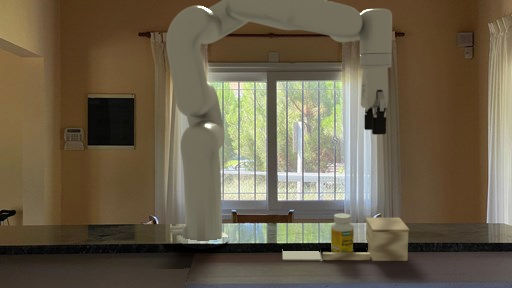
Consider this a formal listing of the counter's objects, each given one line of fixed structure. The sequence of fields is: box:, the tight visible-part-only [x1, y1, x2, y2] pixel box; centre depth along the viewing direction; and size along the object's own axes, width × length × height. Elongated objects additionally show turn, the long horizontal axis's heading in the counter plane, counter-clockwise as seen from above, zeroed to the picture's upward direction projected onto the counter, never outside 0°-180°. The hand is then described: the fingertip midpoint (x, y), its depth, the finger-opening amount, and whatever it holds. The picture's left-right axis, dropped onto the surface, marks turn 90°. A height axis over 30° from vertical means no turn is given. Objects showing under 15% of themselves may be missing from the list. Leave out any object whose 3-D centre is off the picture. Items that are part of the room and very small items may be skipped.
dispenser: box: [318, 217, 410, 262], centre depth 117 cm, size 21×10×8 cm, turn 87°
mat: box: [282, 250, 321, 261], centre depth 118 cm, size 9×9×1 cm
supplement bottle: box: [330, 212, 355, 252], centre depth 117 cm, size 5×5×10 cm
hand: (374, 131), depth 120 cm, fingers open, 9 cm apart
